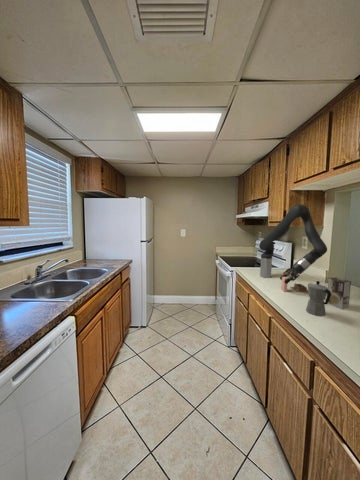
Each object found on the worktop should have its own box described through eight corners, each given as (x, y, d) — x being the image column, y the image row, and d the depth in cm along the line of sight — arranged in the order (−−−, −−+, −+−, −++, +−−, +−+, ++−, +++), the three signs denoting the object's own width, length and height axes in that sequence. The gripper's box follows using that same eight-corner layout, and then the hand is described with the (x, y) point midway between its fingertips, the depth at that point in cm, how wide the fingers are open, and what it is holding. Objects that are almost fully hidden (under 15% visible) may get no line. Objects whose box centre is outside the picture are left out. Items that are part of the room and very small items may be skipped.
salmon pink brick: (281, 290, 149) (282, 276, 148) (284, 290, 149) (285, 276, 148) (283, 292, 144) (284, 278, 143) (286, 292, 144) (287, 278, 143)
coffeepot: (299, 307, 120) (301, 277, 118) (314, 307, 121) (316, 277, 119) (320, 320, 105) (322, 286, 103) (336, 320, 106) (339, 286, 104)
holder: (289, 287, 155) (289, 281, 155) (303, 288, 154) (303, 282, 153) (296, 293, 143) (296, 286, 143) (311, 294, 142) (312, 287, 142)
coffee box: (349, 307, 121) (351, 281, 119) (342, 309, 118) (344, 282, 117) (332, 302, 129) (335, 277, 127) (326, 303, 127) (328, 278, 125)
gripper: (293, 260, 150) (275, 274, 153) (302, 264, 136) (282, 280, 139) (300, 267, 150) (282, 281, 153) (310, 272, 136) (290, 288, 138)
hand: (282, 281), depth 146 cm, fingers open, 8 cm apart
